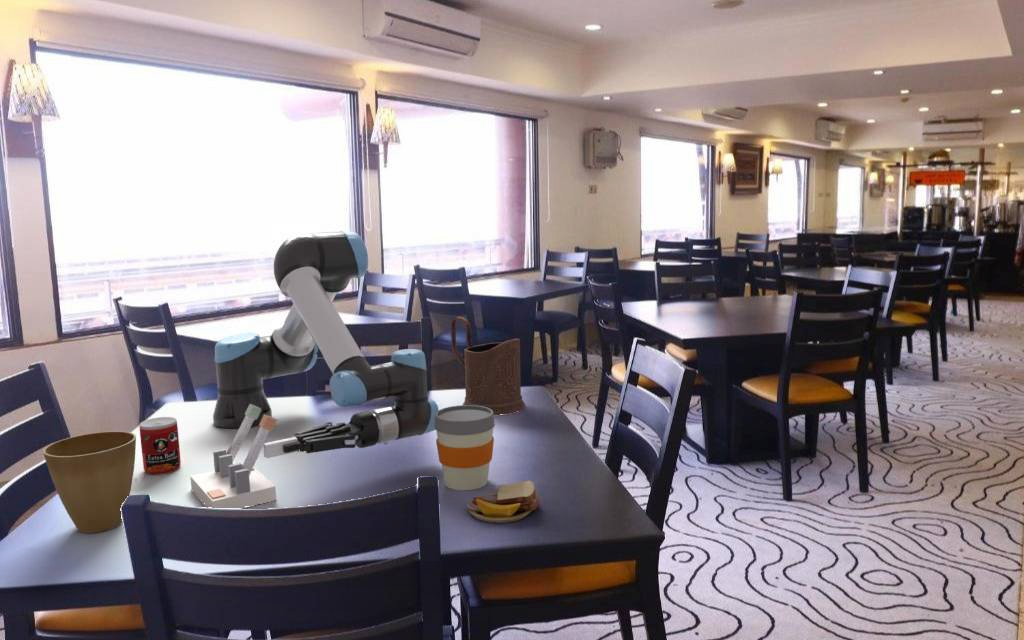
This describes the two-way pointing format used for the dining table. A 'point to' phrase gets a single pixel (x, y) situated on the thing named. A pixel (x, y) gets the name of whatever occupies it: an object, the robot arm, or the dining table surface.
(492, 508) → the toy sandwich meal
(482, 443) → the reusable coffee cup
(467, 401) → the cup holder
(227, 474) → the console
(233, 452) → the lever
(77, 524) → the plant pot
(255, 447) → the lever
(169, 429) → the canned food
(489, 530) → the dining table surface
